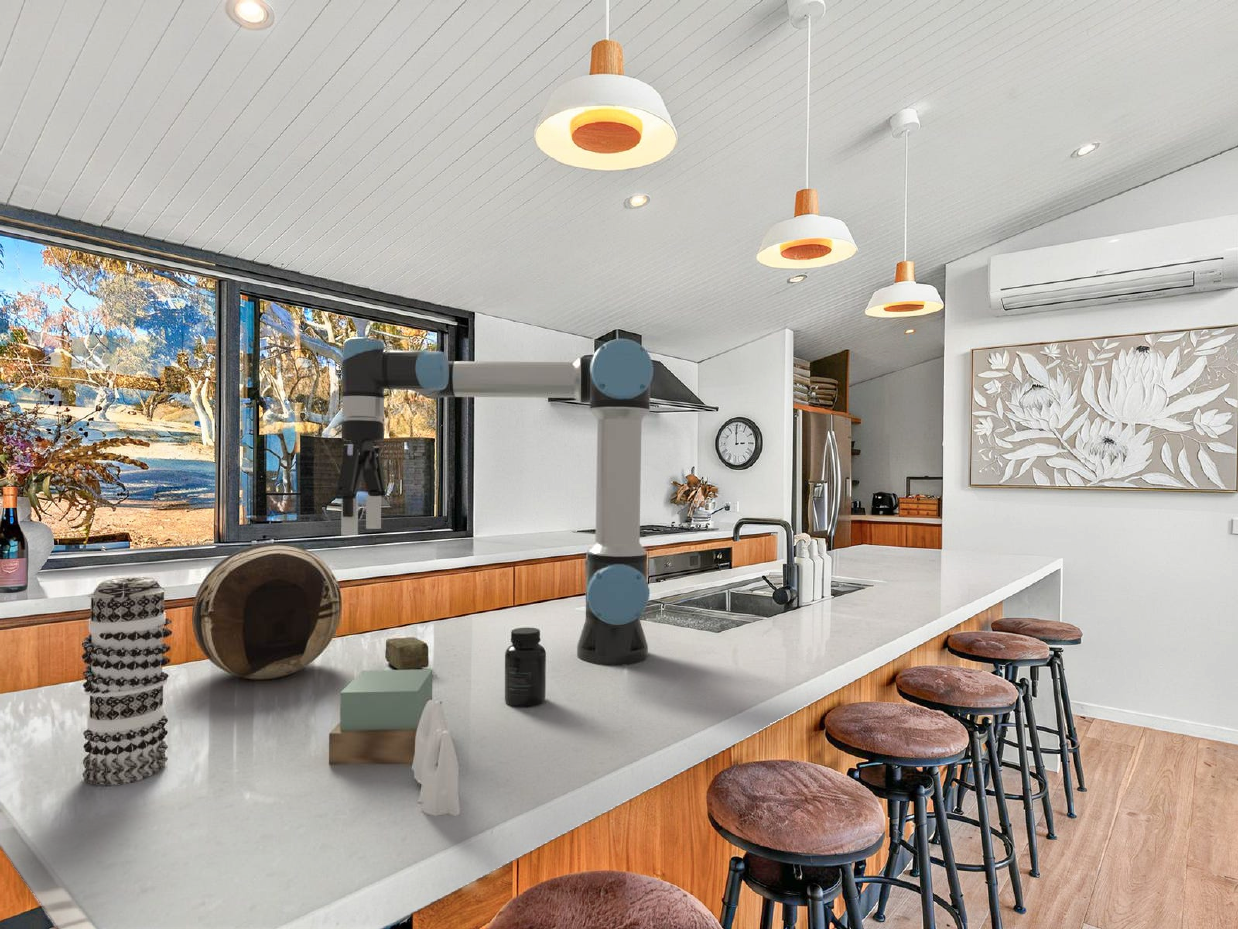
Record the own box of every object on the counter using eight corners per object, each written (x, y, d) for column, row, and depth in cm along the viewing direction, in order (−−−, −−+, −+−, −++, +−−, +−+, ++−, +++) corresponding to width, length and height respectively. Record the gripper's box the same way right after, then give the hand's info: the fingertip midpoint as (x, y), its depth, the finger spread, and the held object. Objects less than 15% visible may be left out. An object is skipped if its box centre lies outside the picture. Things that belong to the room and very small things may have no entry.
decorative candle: (187, 768, 90) (190, 575, 90) (122, 801, 81) (124, 587, 81) (130, 761, 92) (132, 573, 92) (60, 792, 83) (62, 584, 83)
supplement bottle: (518, 693, 121) (518, 624, 121) (552, 698, 118) (553, 628, 118) (496, 705, 115) (497, 632, 115) (532, 711, 112) (533, 636, 112)
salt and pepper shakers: (410, 781, 87) (411, 693, 87) (444, 775, 88) (445, 689, 88) (423, 827, 76) (424, 725, 76) (462, 819, 77) (463, 720, 77)
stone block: (400, 673, 129) (399, 646, 129) (383, 663, 138) (383, 638, 139) (431, 668, 132) (430, 642, 132) (412, 659, 142) (412, 634, 142)
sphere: (191, 708, 113) (193, 554, 113) (190, 670, 134) (192, 540, 134) (353, 683, 126) (354, 546, 126) (329, 652, 147) (330, 534, 147)
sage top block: (432, 703, 102) (432, 669, 102) (417, 728, 92) (417, 691, 92) (362, 704, 101) (363, 670, 101) (340, 730, 91) (340, 692, 91)
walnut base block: (441, 735, 103) (441, 701, 103) (422, 770, 91) (422, 732, 91) (359, 736, 102) (359, 702, 102) (328, 772, 90) (329, 733, 90)
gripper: (364, 424, 144) (363, 526, 144) (316, 415, 119) (315, 538, 119) (400, 424, 144) (400, 526, 144) (360, 415, 120) (360, 538, 119)
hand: (362, 531), depth 132 cm, fingers open, 13 cm apart
